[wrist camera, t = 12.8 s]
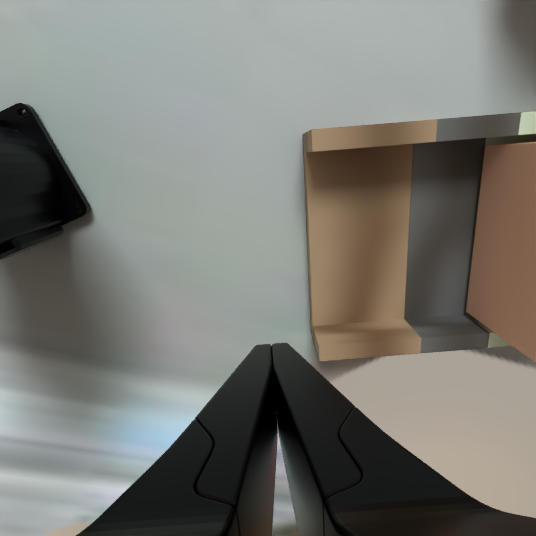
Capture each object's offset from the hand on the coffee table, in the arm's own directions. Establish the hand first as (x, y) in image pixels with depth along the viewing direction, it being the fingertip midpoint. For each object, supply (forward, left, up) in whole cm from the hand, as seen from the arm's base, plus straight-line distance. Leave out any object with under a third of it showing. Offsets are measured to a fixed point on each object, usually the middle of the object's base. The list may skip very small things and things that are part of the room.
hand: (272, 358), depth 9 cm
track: (+4, +11, -13) cm, 18 cm away
